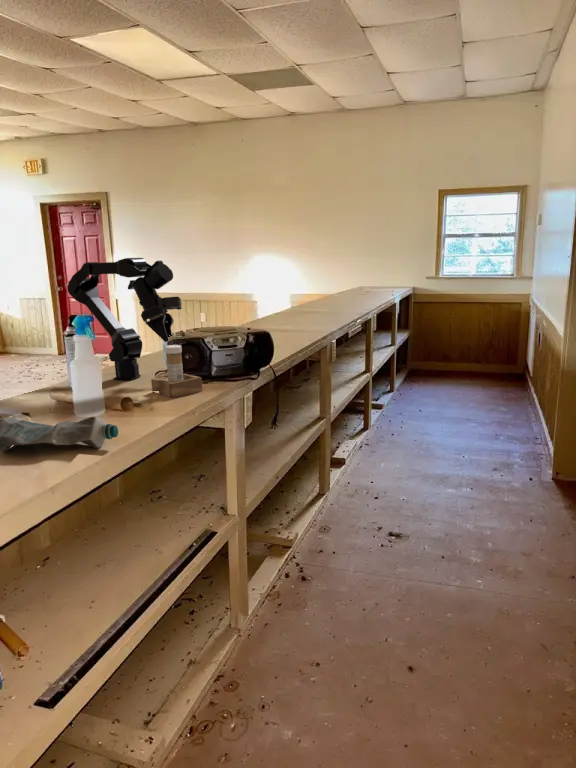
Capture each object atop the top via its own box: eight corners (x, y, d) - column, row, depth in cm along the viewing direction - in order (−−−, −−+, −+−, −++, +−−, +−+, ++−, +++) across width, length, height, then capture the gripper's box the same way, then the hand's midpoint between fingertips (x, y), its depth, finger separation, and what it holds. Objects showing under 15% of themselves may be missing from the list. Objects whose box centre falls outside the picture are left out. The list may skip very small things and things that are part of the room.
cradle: (152, 392, 161) (151, 378, 160) (181, 385, 168) (180, 372, 167) (172, 398, 154) (171, 384, 153) (202, 390, 161) (201, 377, 161)
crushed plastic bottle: (-17, 458, 111) (104, 457, 109) (-21, 424, 110) (100, 422, 108) (20, 441, 124) (128, 440, 122) (16, 410, 123) (126, 408, 121)
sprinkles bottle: (179, 388, 165) (176, 344, 161) (187, 391, 161) (184, 345, 158) (165, 391, 162) (162, 345, 159) (172, 394, 158) (169, 347, 155)
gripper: (166, 278, 159) (189, 327, 158) (177, 291, 177) (198, 335, 177) (130, 294, 158) (153, 344, 158) (145, 305, 177) (166, 350, 177)
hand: (169, 342), depth 167 cm, fingers open, 9 cm apart
